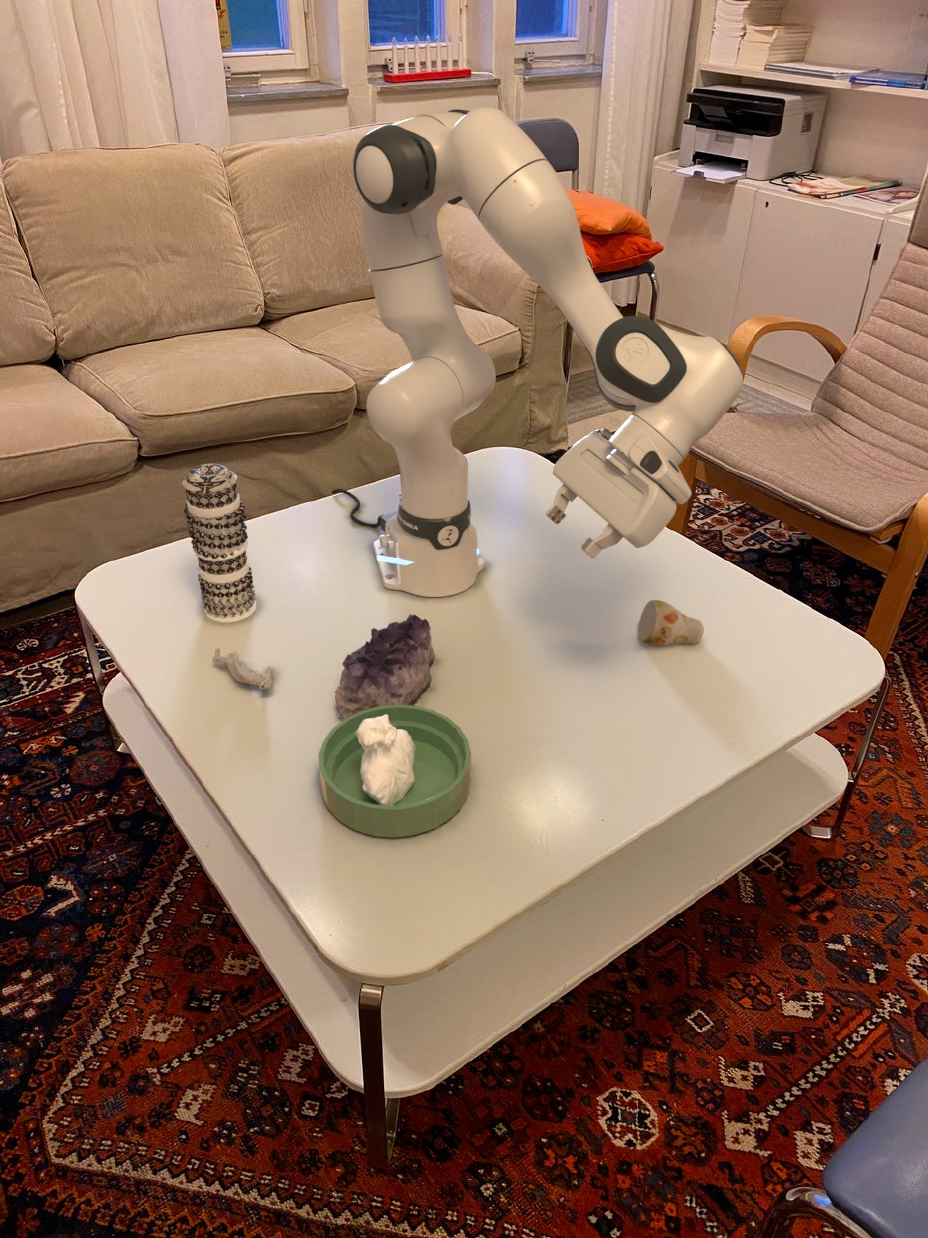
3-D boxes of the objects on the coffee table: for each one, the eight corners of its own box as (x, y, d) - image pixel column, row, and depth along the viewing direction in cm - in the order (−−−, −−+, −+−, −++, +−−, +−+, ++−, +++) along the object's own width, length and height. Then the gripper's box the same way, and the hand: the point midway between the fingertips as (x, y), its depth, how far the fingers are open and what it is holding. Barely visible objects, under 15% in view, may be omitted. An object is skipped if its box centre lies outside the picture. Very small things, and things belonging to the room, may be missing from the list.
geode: (379, 641, 150) (386, 589, 144) (447, 666, 147) (456, 614, 141) (319, 717, 133) (323, 661, 128) (394, 745, 131) (402, 690, 125)
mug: (710, 655, 148) (690, 616, 141) (650, 669, 152) (628, 632, 145) (706, 618, 153) (686, 579, 146) (648, 633, 156) (626, 596, 150)
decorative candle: (219, 631, 152) (195, 490, 137) (191, 606, 157) (166, 469, 143) (269, 610, 156) (251, 472, 142) (240, 586, 162) (220, 452, 148)
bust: (402, 765, 129) (351, 706, 125) (444, 749, 125) (392, 687, 121) (370, 829, 120) (314, 766, 116) (415, 814, 116) (357, 748, 112)
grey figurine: (246, 659, 147) (297, 666, 140) (237, 689, 146) (287, 698, 139) (207, 643, 141) (258, 651, 134) (196, 675, 140) (247, 684, 133)
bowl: (304, 757, 128) (301, 727, 125) (436, 720, 134) (436, 690, 131) (349, 860, 113) (346, 828, 110) (494, 812, 120) (495, 781, 117)
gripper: (587, 410, 126) (518, 489, 129) (674, 474, 111) (593, 562, 113) (612, 436, 130) (545, 512, 133) (699, 501, 115) (621, 586, 117)
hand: (568, 536), depth 123 cm, fingers open, 8 cm apart
